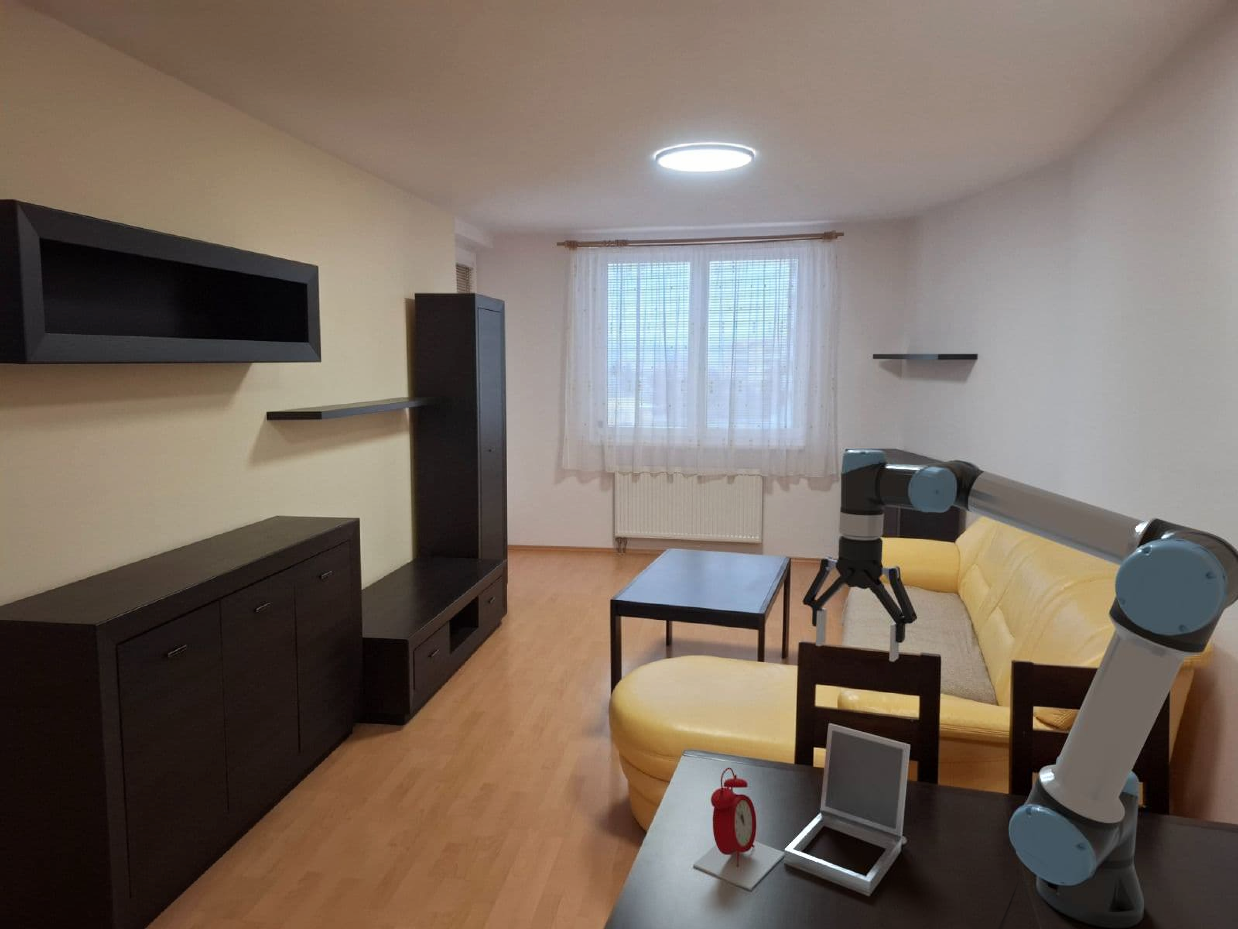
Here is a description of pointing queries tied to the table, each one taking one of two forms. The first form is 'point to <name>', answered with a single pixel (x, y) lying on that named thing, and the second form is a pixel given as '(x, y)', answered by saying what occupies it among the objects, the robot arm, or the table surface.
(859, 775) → the lid
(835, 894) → the table surface
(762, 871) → the mat
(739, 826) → the alarm clock
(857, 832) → the case
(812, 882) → the table surface
